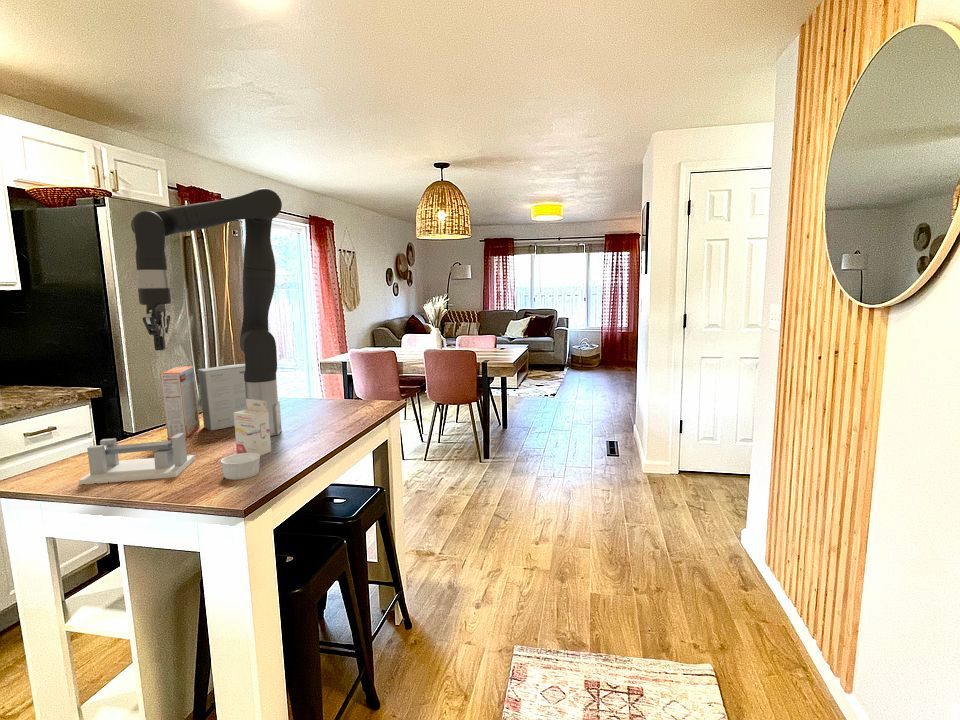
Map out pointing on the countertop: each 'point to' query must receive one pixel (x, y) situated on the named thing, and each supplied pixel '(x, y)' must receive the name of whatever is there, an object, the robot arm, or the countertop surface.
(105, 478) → the base
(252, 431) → the ink cartridge box
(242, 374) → the hard drive box
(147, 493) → the countertop surface
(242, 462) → the ramekin
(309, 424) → the countertop surface
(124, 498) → the countertop surface
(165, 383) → the cracker box
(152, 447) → the clamp lever
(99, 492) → the countertop surface
